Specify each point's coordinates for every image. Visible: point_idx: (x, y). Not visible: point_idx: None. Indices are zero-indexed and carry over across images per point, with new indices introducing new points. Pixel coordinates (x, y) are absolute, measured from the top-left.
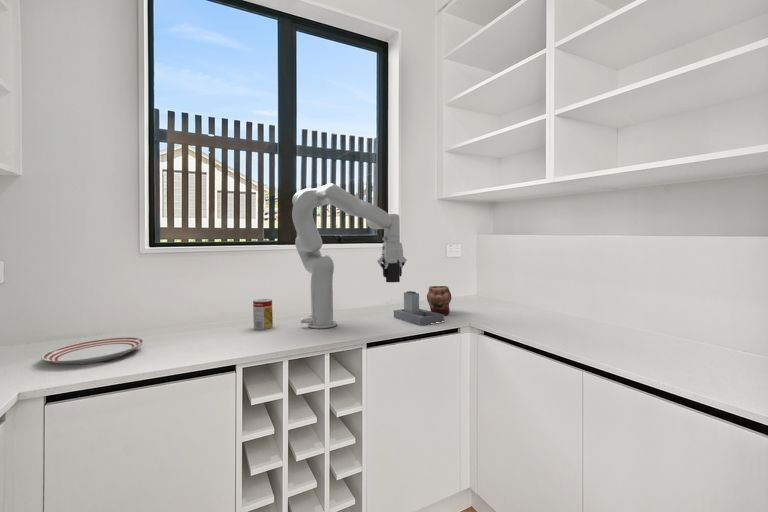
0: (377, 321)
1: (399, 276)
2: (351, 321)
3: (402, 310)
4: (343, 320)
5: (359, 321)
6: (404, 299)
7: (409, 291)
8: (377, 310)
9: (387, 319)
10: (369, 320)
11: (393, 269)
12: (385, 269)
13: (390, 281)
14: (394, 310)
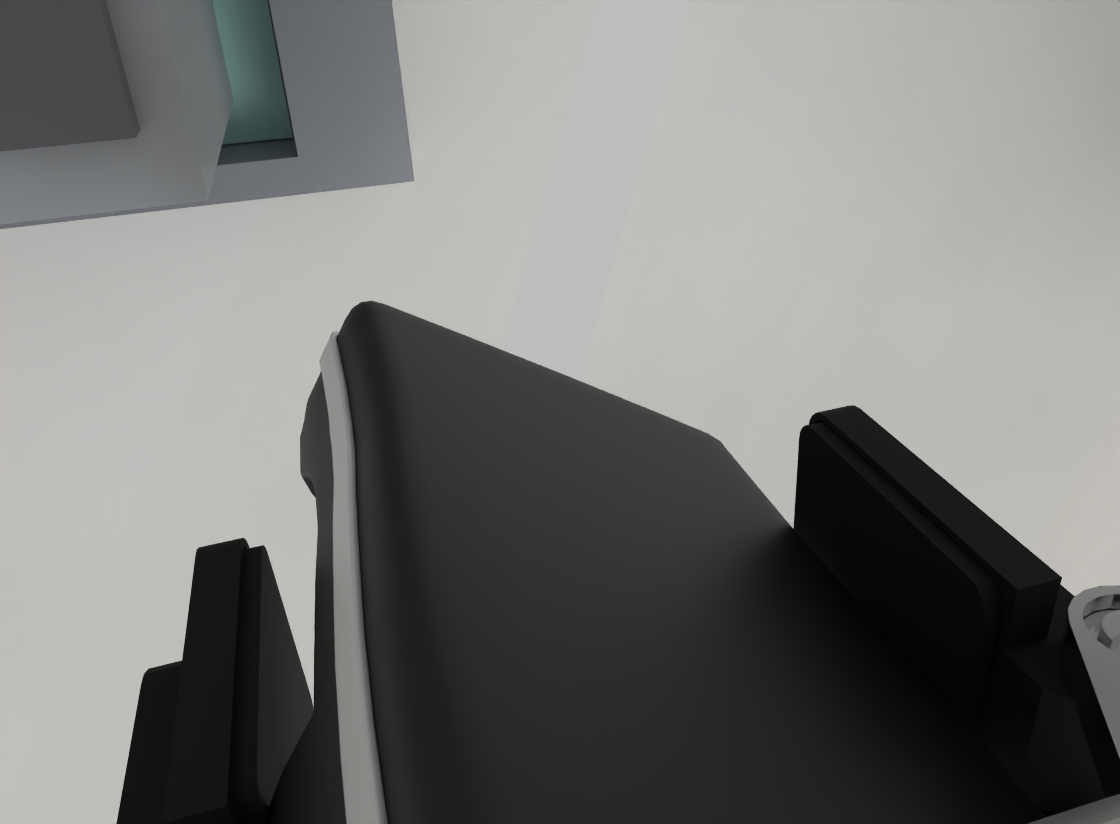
0: (724, 7)
1: (352, 418)
2: (960, 180)
3: (243, 158)
4: (989, 276)
5: (895, 133)
6: (212, 131)
7: (51, 82)
8: None
9: (541, 68)
10: (773, 130)
11: (695, 628)
12: (1046, 618)
13: (624, 403)
14: (407, 159)
